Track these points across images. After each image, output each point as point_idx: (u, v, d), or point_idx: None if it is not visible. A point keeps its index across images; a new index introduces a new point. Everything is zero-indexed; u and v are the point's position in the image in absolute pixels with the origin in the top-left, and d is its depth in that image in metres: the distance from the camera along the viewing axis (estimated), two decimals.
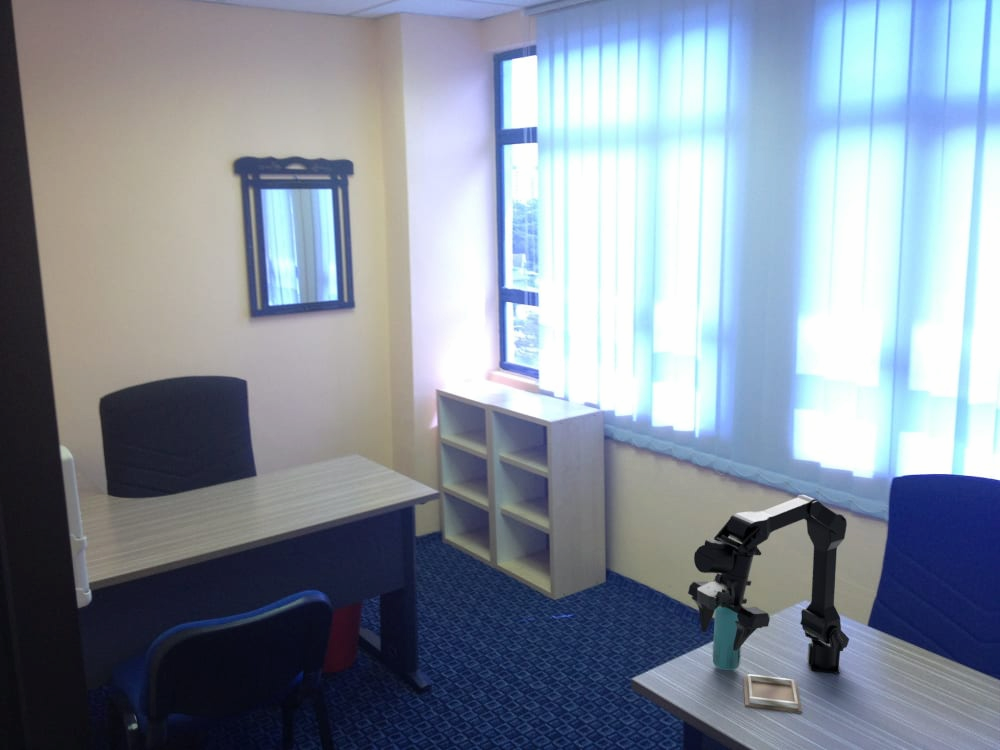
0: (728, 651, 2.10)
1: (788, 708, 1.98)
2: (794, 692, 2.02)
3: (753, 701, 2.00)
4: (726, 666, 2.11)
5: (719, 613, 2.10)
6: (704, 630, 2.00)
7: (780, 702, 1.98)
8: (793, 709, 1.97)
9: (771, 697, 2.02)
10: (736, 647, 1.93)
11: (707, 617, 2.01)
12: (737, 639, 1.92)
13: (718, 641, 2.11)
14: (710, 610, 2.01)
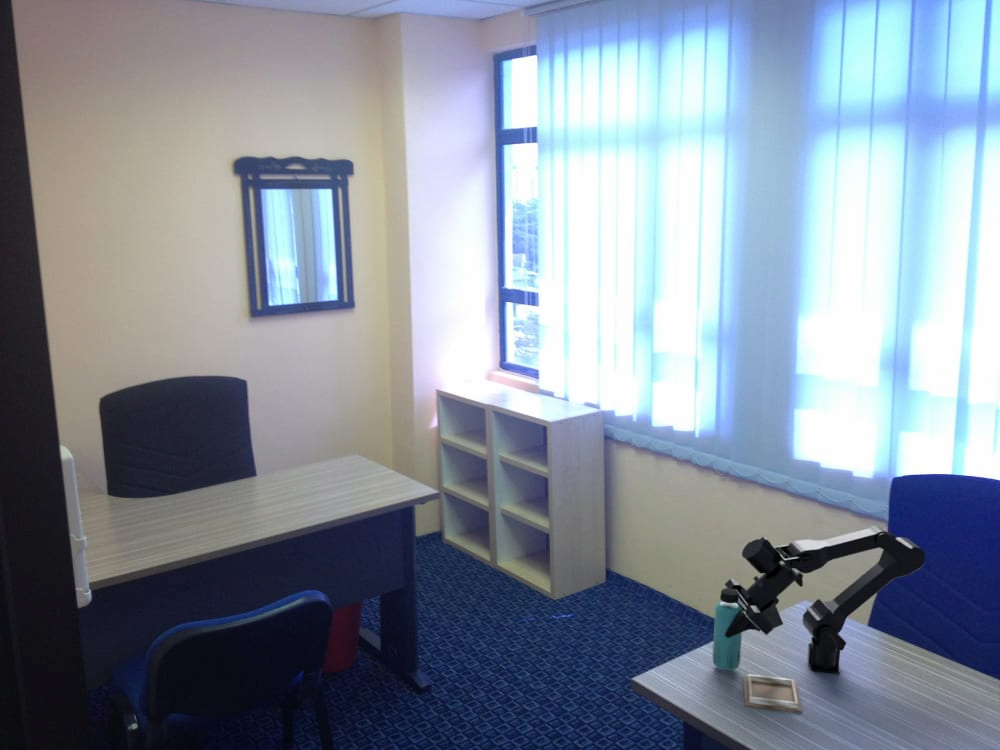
0: (728, 652, 2.10)
1: (788, 708, 1.98)
2: (794, 692, 2.02)
3: (753, 701, 2.00)
4: (726, 666, 2.11)
5: (719, 614, 2.10)
6: None
7: (780, 702, 1.98)
8: (793, 709, 1.97)
9: (771, 697, 2.02)
10: None
11: None
12: None
13: (718, 641, 2.11)
14: None
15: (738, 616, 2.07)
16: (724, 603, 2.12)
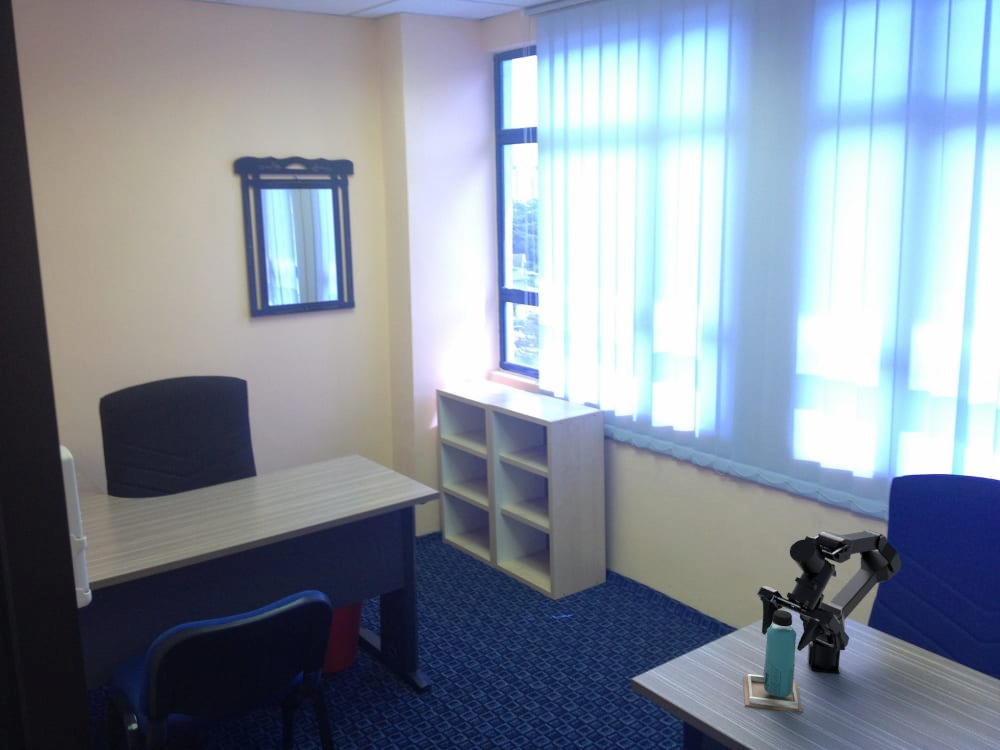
0: (788, 677, 1.99)
1: (788, 708, 1.98)
2: (794, 692, 2.02)
3: (753, 701, 2.00)
4: (787, 692, 1.99)
5: (779, 640, 1.97)
6: None
7: (780, 702, 1.98)
8: (793, 709, 1.97)
9: (771, 697, 2.02)
10: None
11: None
12: None
13: (778, 669, 1.98)
14: None
15: (811, 625, 1.98)
16: (776, 627, 1.99)
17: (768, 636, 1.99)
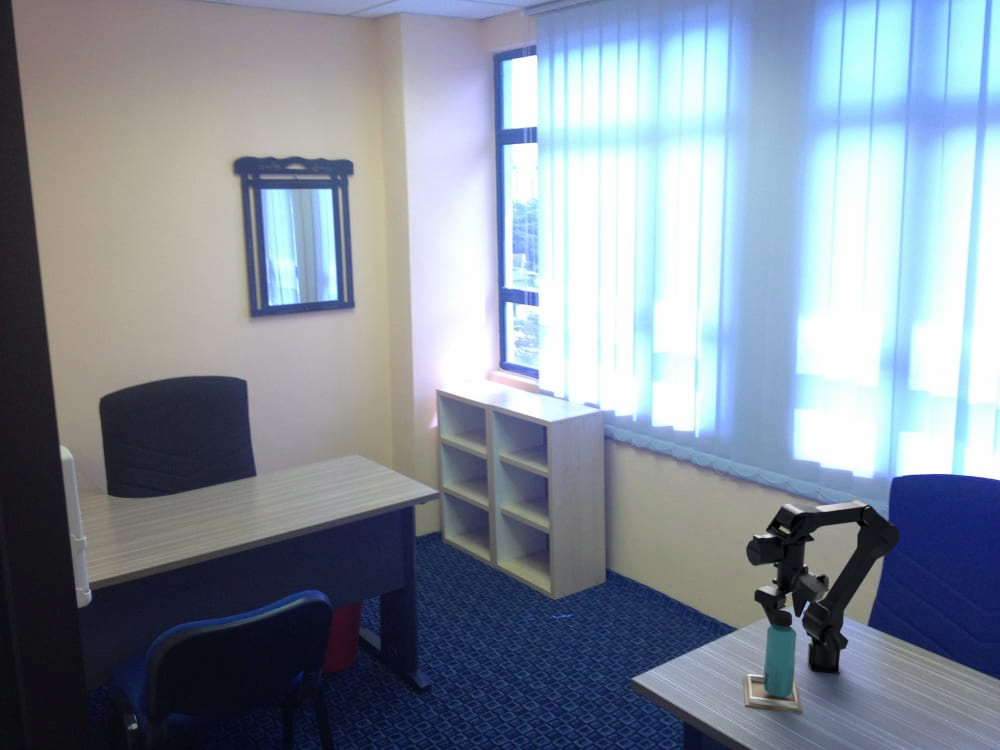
0: (788, 677, 1.99)
1: (788, 708, 1.98)
2: (794, 692, 2.02)
3: (753, 701, 2.00)
4: (787, 692, 1.99)
5: (779, 640, 1.97)
6: None
7: (780, 702, 1.98)
8: (793, 709, 1.97)
9: (771, 697, 2.02)
10: None
11: None
12: (804, 606, 2.12)
13: (778, 669, 1.98)
14: None
15: None
16: (776, 627, 1.99)
17: (768, 636, 1.99)
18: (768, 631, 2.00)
